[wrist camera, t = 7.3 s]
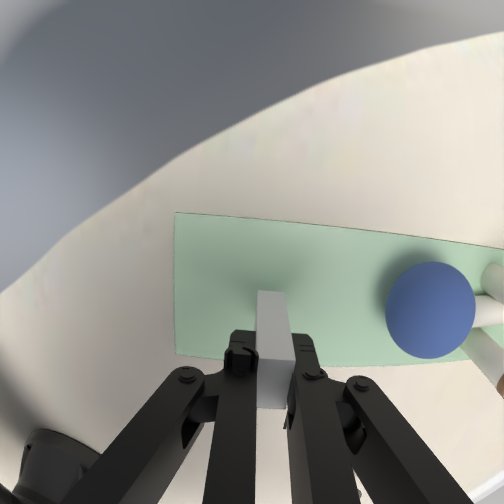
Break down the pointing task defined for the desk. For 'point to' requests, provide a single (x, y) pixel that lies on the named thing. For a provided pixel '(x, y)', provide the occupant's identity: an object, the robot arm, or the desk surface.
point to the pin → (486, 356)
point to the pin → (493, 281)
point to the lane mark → (305, 284)
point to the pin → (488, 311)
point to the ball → (430, 310)
